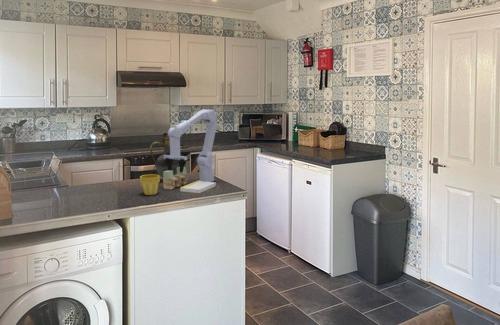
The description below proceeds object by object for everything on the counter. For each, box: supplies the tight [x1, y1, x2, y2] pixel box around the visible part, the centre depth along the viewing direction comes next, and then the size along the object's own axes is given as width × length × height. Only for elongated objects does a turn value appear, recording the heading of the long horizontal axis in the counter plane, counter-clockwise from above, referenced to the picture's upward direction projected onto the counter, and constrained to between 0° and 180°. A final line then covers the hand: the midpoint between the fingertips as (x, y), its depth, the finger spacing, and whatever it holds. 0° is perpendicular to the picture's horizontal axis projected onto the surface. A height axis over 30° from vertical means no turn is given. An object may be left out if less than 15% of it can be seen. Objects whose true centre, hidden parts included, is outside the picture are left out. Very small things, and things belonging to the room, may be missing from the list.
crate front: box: [162, 171, 173, 179], centre depth 241 cm, size 4×4×4 cm
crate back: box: [177, 166, 187, 175], centre depth 254 cm, size 4×4×4 cm
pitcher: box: [149, 132, 180, 178], centre depth 262 cm, size 11×19×30 cm, turn 118°
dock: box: [179, 180, 217, 194], centre depth 243 cm, size 20×12×2 cm, turn 157°
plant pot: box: [139, 174, 161, 196], centre depth 230 cm, size 10×10×10 cm
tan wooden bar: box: [162, 172, 189, 190], centre depth 248 cm, size 18×5×6 cm, turn 157°
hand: (175, 171), depth 247 cm, fingers open, 7 cm apart
